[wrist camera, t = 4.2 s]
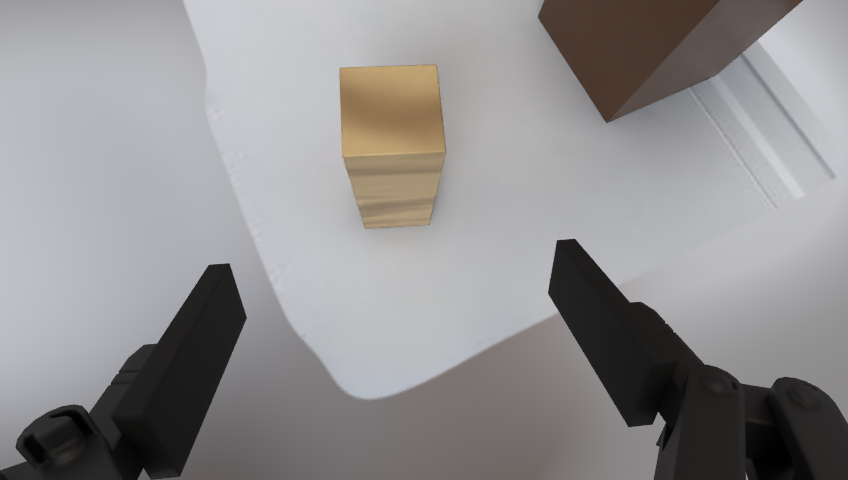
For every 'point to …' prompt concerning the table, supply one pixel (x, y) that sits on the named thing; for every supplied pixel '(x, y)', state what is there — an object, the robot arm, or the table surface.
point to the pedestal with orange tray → (653, 43)
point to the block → (392, 142)
